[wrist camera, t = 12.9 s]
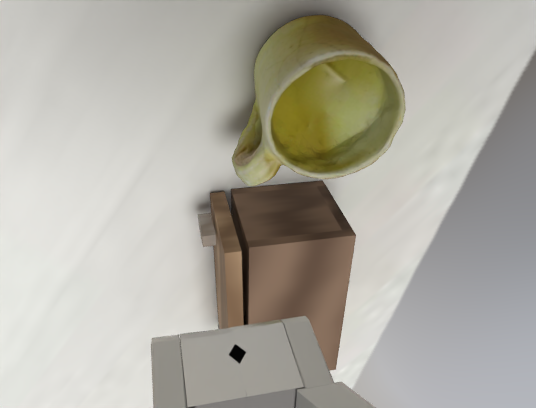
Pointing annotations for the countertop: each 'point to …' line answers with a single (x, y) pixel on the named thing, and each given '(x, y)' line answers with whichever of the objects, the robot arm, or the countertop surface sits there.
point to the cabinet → (294, 257)
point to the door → (224, 260)
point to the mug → (318, 103)
